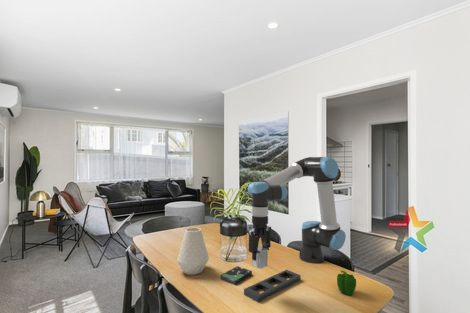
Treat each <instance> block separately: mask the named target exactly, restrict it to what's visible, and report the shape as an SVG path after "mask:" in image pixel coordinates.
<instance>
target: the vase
mask: <svg viewBox="0 0 470 313" xmlns="http://www.w3.org/2000/svg"><path fill="white" fill-rule="evenodd" d="M176 261H177V264H178V265H179V267H180V269H181V270H182V272H183V274H185V275H189V276H190V275H191V276H192V275H193V276H194V275H198V274H201V273H203V271H204V269H205V267H206V265H207V264H208V261H209V253H208V250H207V247H206V243H205V239H204V235H203V232H202V228H200V227H188V228H186V229H185V231H184V234H183V237H182V240H181V244H180V248H179V252H178V255H177V260H176Z"/></svg>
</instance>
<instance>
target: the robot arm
mask: <svg viewBox="0 0 470 313" xmlns="http://www.w3.org/2000/svg"><path fill="white" fill-rule="evenodd" d="M339 168H340V167H339V165H338V162H337V160H336V159H334V157H333V158H332V157H329V156H309V157H304V158H302V159H299V160H297V161H295V162H293V163H291V165H290V166H288V167H287V168H285V169H283V170H280V171H279V172H277V173H275V174H273V175H270V176H269V177H266V178H265V179H262V180H261V181H255V182H251V183H249V185H248V187H247V194H249V196H251V214H252V216H251V223H252V229H250V230H248V231H247V235H248V252H249V253H251V260H253V266H252V267H254V268H256V269H259V268H258V253H257V249H258V246H259V243H260V241H261V247H264V248H267V249H268V251H270V248H271V240H272V239H271V231H272V226H269V225H268V224H269V216H268V215H269V202H277V201H279V202H280V201H284V200H286V199H287V198H288V189H287V187H286V186H285V185H286V184H288V183H290V182H291V181H293V180H295V179H301V178H303V177H313V182H314V183H315V184H316V186H317V188H316V189H317V196H318V204H319V213H320V214H319V215H320V220H319V221H317V220H308V221H304V222H302V225H301V246H300V251H299V253H298V256H299V260H302V261H304V262H306V263H311V264H313V263H314V264H319V263H322V262H324V261H325V255H324V252H323V249H322V246H323V247H325V248H328V249H330V250H334V251H336V250H337V251H338V250H339V251H340V249H342V248H343V246H344V245H345V241H346V232H345V230H342V229H341V225H340V223H338V222H337V220H338V219H337V213H336V212H337V211H336V203H335V202H336V201H335V195H334V194H335V193H334V185H333V183H334V182H335V181H336V178H337V176H338V175H339V171H340V170H339Z"/></svg>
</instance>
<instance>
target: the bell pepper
mask: <svg viewBox="0 0 470 313" xmlns="http://www.w3.org/2000/svg"><path fill="white" fill-rule="evenodd" d="M336 284H337V287H338V288H337V289H338V290H339V292H340V293H342V294H345V295H347V296H352V295H353V294H355V291H356V288H357V279H356V277H355V276H354V275H353V274H350V273H347V272H346V271H345V270H340V273H338V274H337V276H336Z"/></svg>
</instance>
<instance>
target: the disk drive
mask: <svg viewBox="0 0 470 313" xmlns="http://www.w3.org/2000/svg"><path fill="white" fill-rule="evenodd" d="M252 275H253V271H252V270H250V269H247V268H242V267H241V266H239V265H237V266H235V267H233V268H231V269H229V270H227V271H225V272H224V273H222V274H220V280H221V281H224V282H227V283H228V284H232V286H233V285H234V286H237V285H238V284H240V283H241V282H243V281H245V280H246V279H248V278H250V277H252Z"/></svg>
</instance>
